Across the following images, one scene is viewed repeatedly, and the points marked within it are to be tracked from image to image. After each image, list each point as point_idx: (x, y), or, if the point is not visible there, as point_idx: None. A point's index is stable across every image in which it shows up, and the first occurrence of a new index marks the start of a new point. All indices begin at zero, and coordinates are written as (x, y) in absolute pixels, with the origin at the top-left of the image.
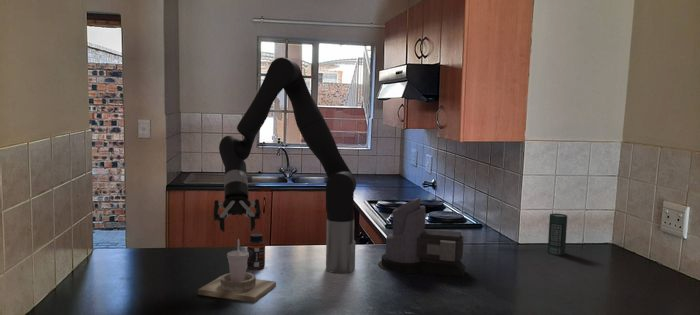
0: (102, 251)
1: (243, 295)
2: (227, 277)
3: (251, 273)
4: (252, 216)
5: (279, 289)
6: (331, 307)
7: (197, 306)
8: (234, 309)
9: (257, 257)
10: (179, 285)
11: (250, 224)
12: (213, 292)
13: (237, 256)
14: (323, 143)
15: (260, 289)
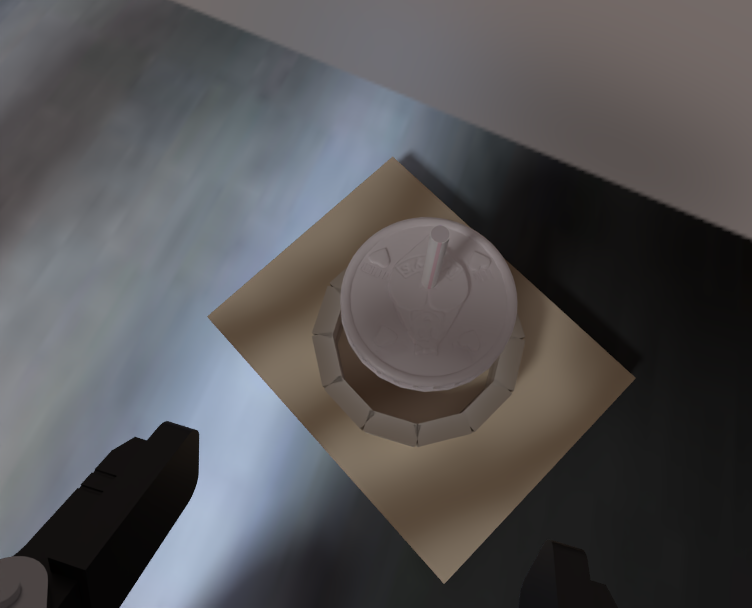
0: None
1: (436, 197)
2: (462, 411)
3: (320, 369)
4: (36, 568)
5: (221, 276)
6: (142, 7)
7: (646, 230)
8: (499, 135)
9: None
10: (710, 593)
11: (154, 518)
12: (560, 313)
13: (456, 222)
14: None
15: (331, 238)
